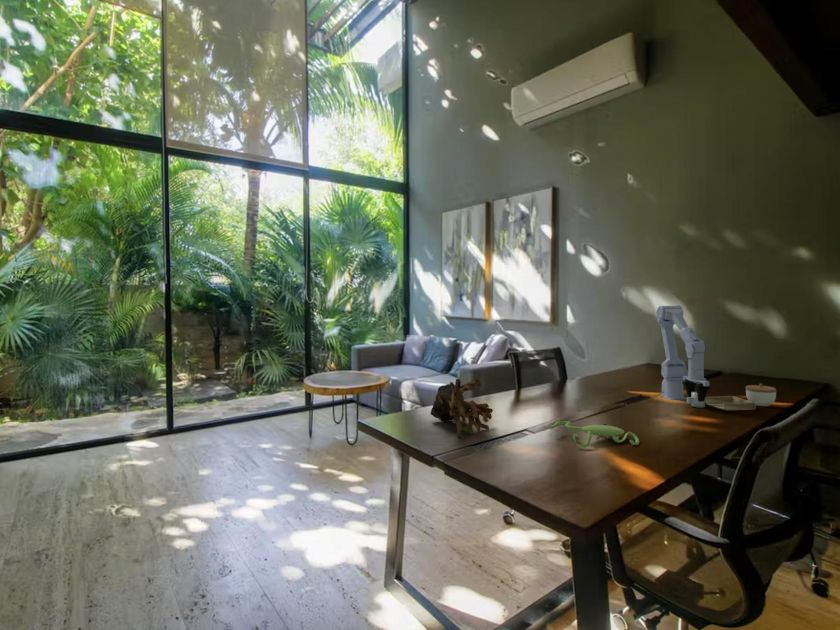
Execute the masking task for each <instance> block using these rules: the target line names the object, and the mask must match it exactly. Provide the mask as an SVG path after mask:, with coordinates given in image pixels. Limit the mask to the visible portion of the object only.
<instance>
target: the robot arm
mask: <svg viewBox="0 0 840 630" xmlns="http://www.w3.org/2000/svg"><path fill="white" fill-rule="evenodd" d="M655 314H656V319H657V323H658V324H659V325H660V331H661V335H662V337H661V338H662V341H663V342H662V343H663V347H664V352H665V358H666V359H665V360H664V361H663V362H662V363H661V364H660V365H661V369H660V373H661V376H662V377H663V380H662V382H661V394H659V397H662V398H664V399H668V400H670V401H678V400H679V401H680V400H681V401H682V400H685V401H687V397H691V392H694V391H695V390H696V391H697V395H698V401H699V402H704V400H705V397H707V394H708V391H709V390H710V389H711V385H710V381H709V380H707V378H705V377H704V376H705V375H704V373H705V372H704V371H705V365H704V363H705V361H704V359H705V358H704V357H705V355H706V353H707V351H708V345H707V343H706V341H705V340H702V339H701V338H699V337H698V335H697V333H696V332H695V331H694V329H693V328H692V327H689V325H688V324H687V322H686V320H685V317H684V309H683V307H682V306H681V305H679V304H678V305H677V304H676V305H659V306H658V307H657V309H656V312H655ZM674 325H675V326H676V327H677V329H678V330H679V336H680V338H681V339H682V341H683V343H684V344H685V346H684V349H685V352H686V357H687V358H688V359H687V360H688V362H687V363H688V364H687V365H688V366H686V362H685V361H684V360H682V359H681V358H680V357H679V353H678V347H677V342H676V337H675V331H674ZM704 354H705V355H704ZM687 367H688V368H687ZM684 390H685V391H686V395H687V397H685V396H684Z"/></svg>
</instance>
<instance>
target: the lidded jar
mask: <svg viewBox="0 0 840 630" xmlns="http://www.w3.org/2000/svg"><path fill="white" fill-rule="evenodd" d="M758 384H759V385H758ZM758 384H754V385H753V384H751V385H746V386H745V394H746V395H745V396H746V398H747V399H746V400H748V401H751V402H754V403H756V407H757V406H759V407H770V406H771V405H773V403H774V402H775V401H776V397H777V388H775V387H774V386H768V385H763V383H758Z"/></svg>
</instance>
